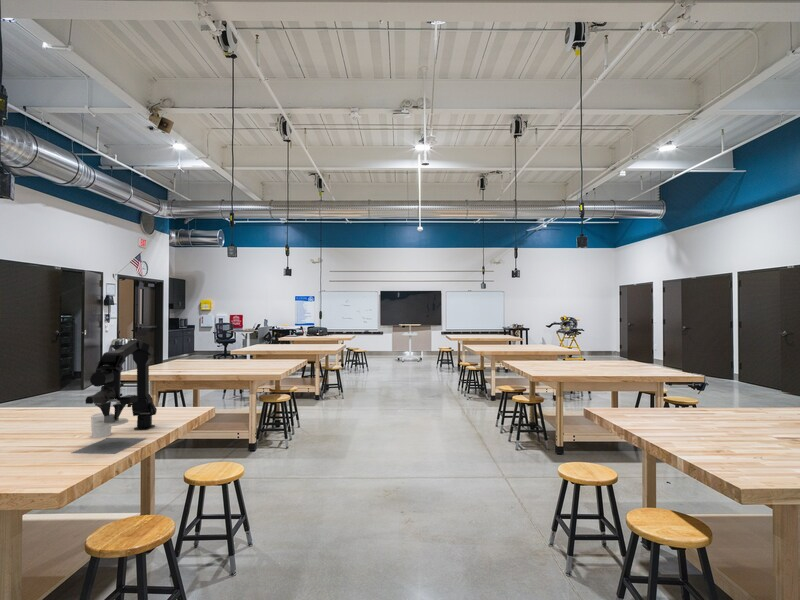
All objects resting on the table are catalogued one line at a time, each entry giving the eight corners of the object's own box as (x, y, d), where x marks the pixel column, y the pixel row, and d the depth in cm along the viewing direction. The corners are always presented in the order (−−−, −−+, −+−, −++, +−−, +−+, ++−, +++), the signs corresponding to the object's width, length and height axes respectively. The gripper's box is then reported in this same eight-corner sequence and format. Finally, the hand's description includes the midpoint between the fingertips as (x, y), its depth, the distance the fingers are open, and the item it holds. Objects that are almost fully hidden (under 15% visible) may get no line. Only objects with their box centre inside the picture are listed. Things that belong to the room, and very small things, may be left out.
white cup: (87, 440, 185) (87, 417, 185) (95, 434, 193) (95, 412, 193) (108, 438, 187) (108, 415, 188) (114, 433, 195) (115, 411, 195)
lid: (107, 419, 183) (107, 411, 183) (134, 419, 182) (135, 412, 183) (86, 426, 171) (86, 418, 171) (115, 427, 170) (115, 419, 171)
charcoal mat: (107, 438, 187) (107, 437, 187) (147, 439, 186) (147, 438, 186) (70, 454, 167) (70, 452, 167) (115, 455, 166) (115, 453, 166)
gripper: (75, 385, 169) (74, 424, 169) (120, 386, 169) (119, 425, 168) (96, 381, 181) (95, 417, 180) (138, 381, 180) (138, 418, 179)
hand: (111, 420), depth 177 cm, fingers closed on lid, 4 cm apart
